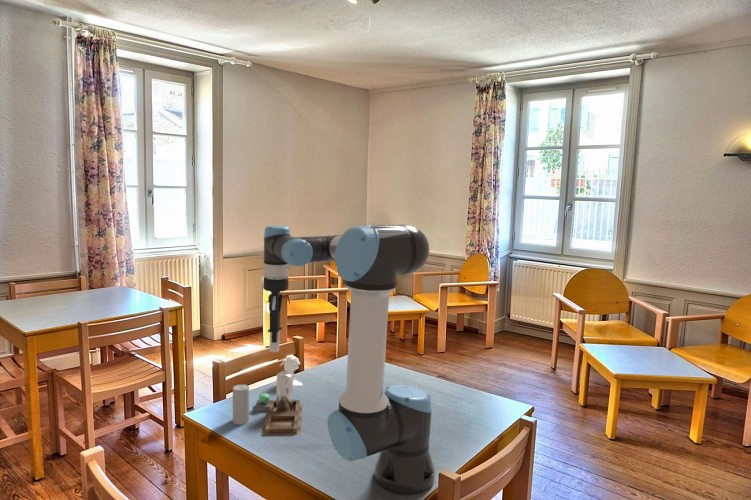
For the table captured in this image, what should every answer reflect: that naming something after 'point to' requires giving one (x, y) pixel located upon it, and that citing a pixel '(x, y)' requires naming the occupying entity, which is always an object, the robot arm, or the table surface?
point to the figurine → (291, 367)
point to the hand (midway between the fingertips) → (274, 351)
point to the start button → (264, 397)
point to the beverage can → (240, 404)
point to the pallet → (280, 418)
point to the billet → (284, 391)
